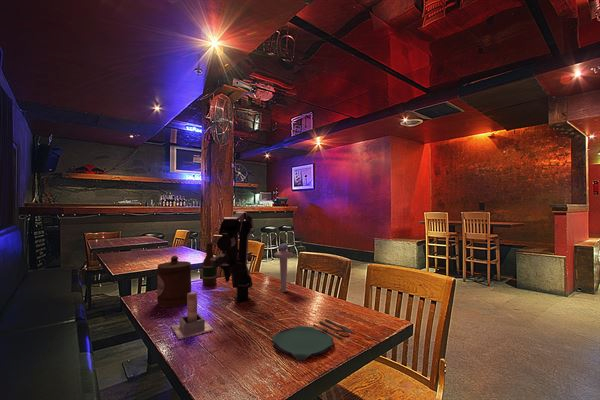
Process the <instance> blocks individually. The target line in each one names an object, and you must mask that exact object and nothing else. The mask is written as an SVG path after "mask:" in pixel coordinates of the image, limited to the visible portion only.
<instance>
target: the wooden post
mask: <svg viewBox="0 0 600 400" xmlns="http://www.w3.org/2000/svg"><path fill="white" fill-rule="evenodd" d="M186 309H187V310H186V316H187V323H188V322H193V321H197V314H198V292H195V291H193V292H192V291H191V293H188V294H187V304H186Z"/></svg>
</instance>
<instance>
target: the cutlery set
mask: <svg viewBox="0 0 600 400" xmlns="http://www.w3.org/2000/svg"><path fill="white" fill-rule="evenodd" d="M326 322H327V323H329V324H330V325H329V324H327V323H326ZM318 324H321V325H323V326H324V327H321V326H318V325H317V324H315V323H313V326H306V325H297V326H294V327H288V328H286V329H283V330H281V331H279V332H277V333H274V335H273V337H272V339H271V343H273V345H274V347H275V348H276V350H278V351H280V352H282V353H284V354H285V355H290V356H294V358H295V359H296V360H297V361H300V362H301V361H302V362H303V361H305V360H306V359H307V358H308V357H314V356H319V355H321V354H322V355H323V354H324V353H326V352H327V351H330V349H331V348H332V347H334V338H337V339H339V340H343V339H344V338H343V337H347V336H350V334H351V335H354V334H356V332H355V331H353V330H351V329H349V328H348V327H347V326H344V325H339V324H337V323H335V322H333V321H331V320H330V319H328V318H325V319H324V322H323V321H322V320H319V321H318ZM331 325H333V326H335V327H336V328H337V327H338V328H340V329H335V328H334V327H332V326H331ZM315 327H316V328H315ZM325 327H328V328H329V329H331V330H333V331H335V332H336V334H335V333H334V332H331V331H329V330H328V329H327V328H325ZM339 332H342V333H345V334H346V335H344V334H341V333H339ZM332 336H333V337H334V338H333V337H332ZM341 336H342V337H341Z"/></svg>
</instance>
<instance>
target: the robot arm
mask: <svg viewBox="0 0 600 400" xmlns="http://www.w3.org/2000/svg"><path fill="white" fill-rule="evenodd" d="M254 226H255V225H254V220H253V217H252V216H250V215H249V214H248V212H247V211H236V212H235V213H234V214H233V215H232V216H226V217H223V219H222V220H221V222H220V227H219V231H218V235H221V237H219V238H218V240H217V242H216V247H217V248H218V250H219V251H221V253H219V254H216V255H215V256H214V257H213V258H211V259H210V261H211V264H212V266H213V267H215V268H220V269H222V272H223V276H224V279H225V283H229V281H230V279H231V274H232V275H233V276H232V279H231V283H232V285H231V286H232V288H235V289H236V296H235V297H233V299H234V300H235V301H237V302H238V303H241V302H245V301H246V302H247V301H251V300H252V298H251V297H250V296H249V289H250V288H252V287H253V279H252V275H251V274H250V273H251V272H250V270H249V268H248V255H249V254H248V252H249V238H250V235H251V234H252V233H253V229H254Z"/></svg>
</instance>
